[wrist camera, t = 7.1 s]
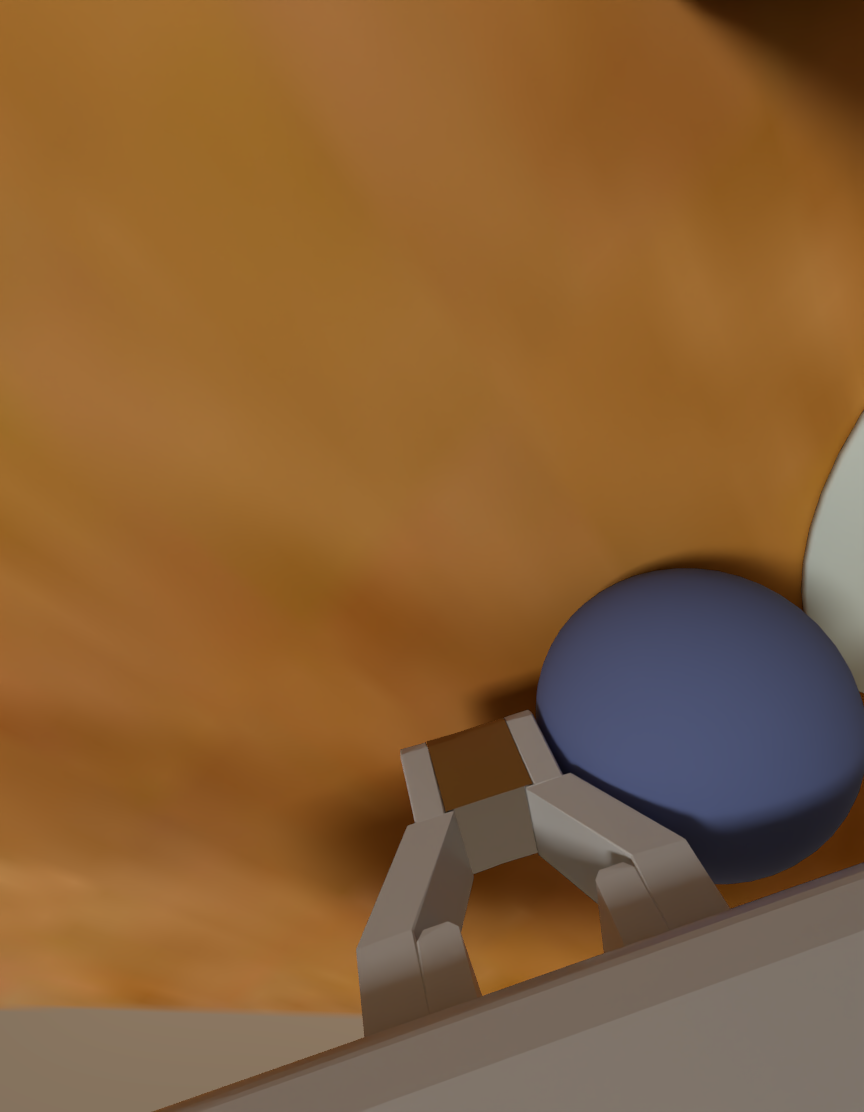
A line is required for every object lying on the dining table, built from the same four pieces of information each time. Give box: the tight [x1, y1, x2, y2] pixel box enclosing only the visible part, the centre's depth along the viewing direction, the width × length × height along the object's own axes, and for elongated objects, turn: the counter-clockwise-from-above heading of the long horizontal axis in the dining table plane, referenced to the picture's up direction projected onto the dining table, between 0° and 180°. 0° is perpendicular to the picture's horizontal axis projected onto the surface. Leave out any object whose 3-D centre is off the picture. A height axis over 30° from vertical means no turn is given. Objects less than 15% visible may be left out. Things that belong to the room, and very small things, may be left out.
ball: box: [536, 568, 864, 884], centre depth 12 cm, size 6×6×6 cm
